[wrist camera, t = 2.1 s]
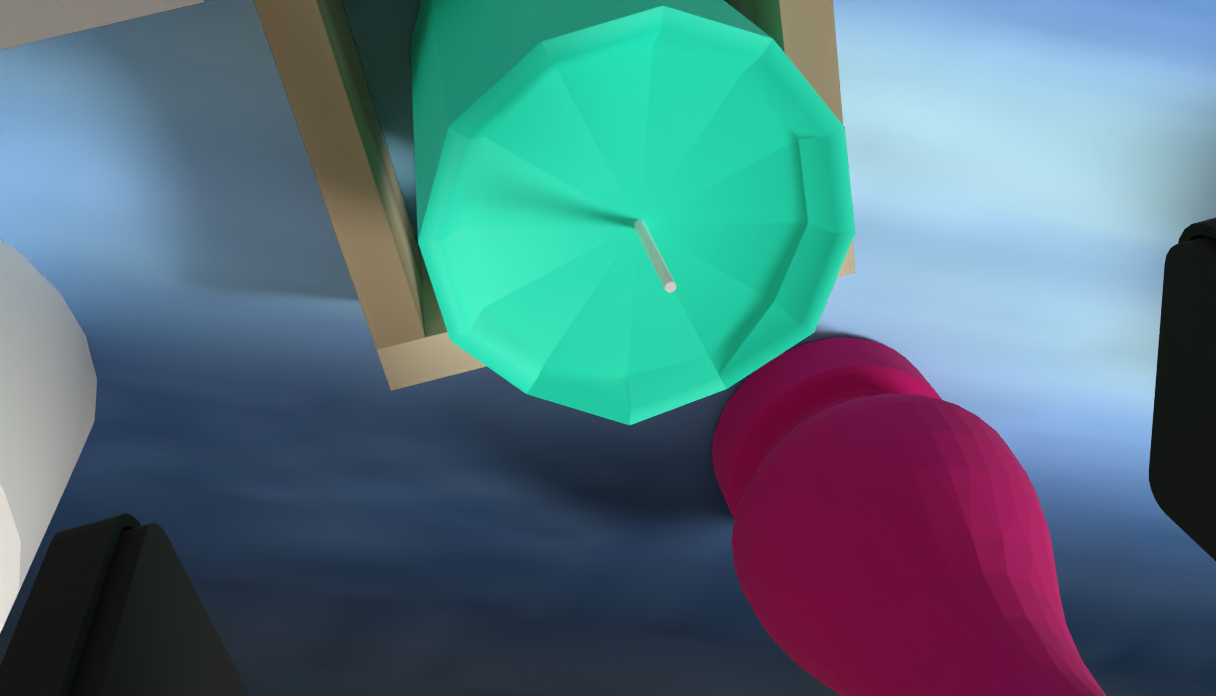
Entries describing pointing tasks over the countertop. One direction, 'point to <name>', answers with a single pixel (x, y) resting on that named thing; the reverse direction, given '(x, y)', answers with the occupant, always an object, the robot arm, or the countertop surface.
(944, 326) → the countertop surface
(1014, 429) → the countertop surface
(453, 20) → the candle
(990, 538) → the pepper mill
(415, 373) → the wooden frame
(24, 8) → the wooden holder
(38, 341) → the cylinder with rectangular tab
